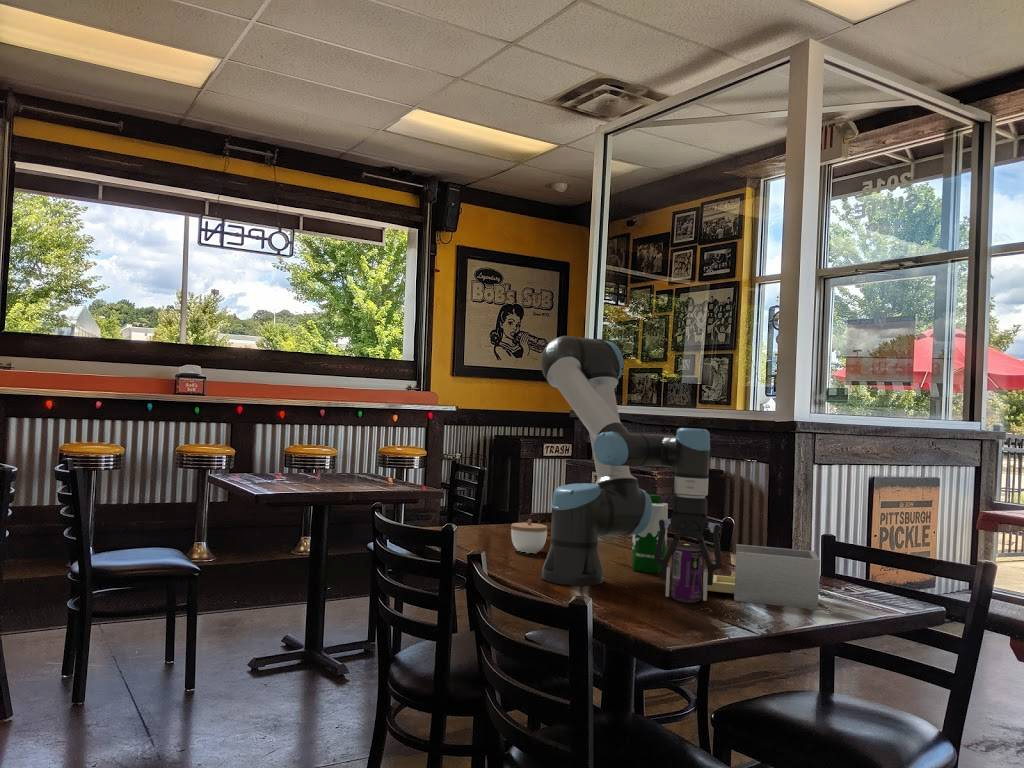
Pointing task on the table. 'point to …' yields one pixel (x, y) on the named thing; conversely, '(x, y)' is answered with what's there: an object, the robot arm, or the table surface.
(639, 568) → the milk carton
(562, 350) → the robot arm
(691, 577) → the beverage can
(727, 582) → the rack
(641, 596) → the table surface
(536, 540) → the lidded jar
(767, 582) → the grey open box
